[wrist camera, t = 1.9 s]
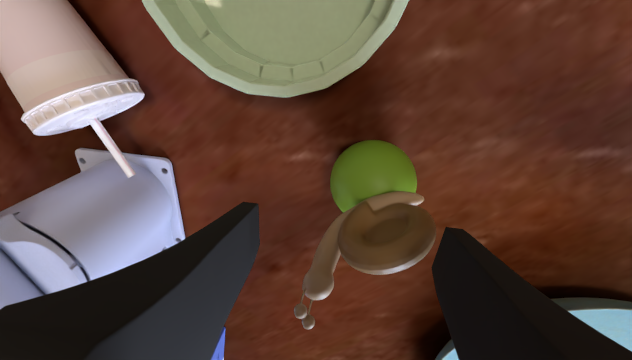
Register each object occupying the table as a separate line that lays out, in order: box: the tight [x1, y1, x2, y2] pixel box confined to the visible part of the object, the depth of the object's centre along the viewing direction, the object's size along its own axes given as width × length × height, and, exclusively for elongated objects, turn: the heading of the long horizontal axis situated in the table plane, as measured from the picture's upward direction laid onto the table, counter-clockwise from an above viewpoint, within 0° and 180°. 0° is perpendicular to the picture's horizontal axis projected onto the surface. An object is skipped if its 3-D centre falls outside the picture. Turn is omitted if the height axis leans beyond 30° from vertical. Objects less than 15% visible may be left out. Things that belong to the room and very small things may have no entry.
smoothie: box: [0, 0, 145, 178], centre depth 17 cm, size 6×6×14 cm
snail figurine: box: [294, 140, 436, 329], centre depth 15 cm, size 5×6×12 cm
